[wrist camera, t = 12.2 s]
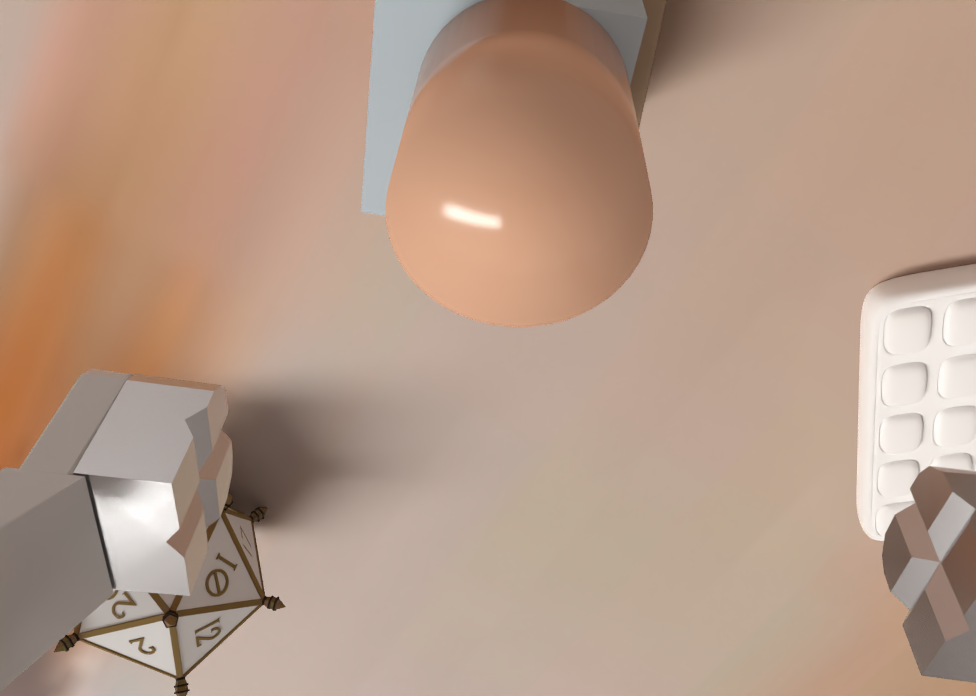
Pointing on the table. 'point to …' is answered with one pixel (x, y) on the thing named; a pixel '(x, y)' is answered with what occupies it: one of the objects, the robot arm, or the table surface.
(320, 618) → the table surface
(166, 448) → the robot arm
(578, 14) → the terracotta capsule
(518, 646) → the table surface
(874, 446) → the calculator
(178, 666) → the game die
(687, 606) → the table surface
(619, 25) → the blue-grey cube
